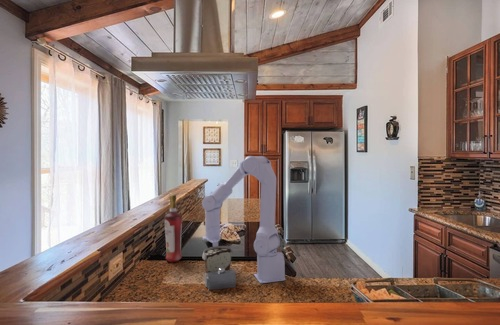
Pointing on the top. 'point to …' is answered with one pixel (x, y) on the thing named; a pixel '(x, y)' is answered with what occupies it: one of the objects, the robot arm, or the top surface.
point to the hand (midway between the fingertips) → (213, 259)
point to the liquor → (173, 232)
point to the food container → (217, 258)
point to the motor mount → (220, 279)
